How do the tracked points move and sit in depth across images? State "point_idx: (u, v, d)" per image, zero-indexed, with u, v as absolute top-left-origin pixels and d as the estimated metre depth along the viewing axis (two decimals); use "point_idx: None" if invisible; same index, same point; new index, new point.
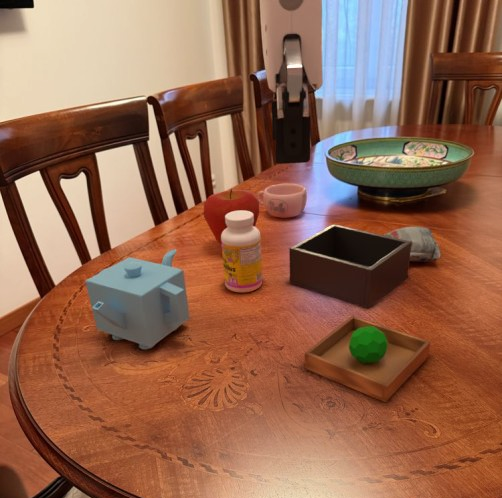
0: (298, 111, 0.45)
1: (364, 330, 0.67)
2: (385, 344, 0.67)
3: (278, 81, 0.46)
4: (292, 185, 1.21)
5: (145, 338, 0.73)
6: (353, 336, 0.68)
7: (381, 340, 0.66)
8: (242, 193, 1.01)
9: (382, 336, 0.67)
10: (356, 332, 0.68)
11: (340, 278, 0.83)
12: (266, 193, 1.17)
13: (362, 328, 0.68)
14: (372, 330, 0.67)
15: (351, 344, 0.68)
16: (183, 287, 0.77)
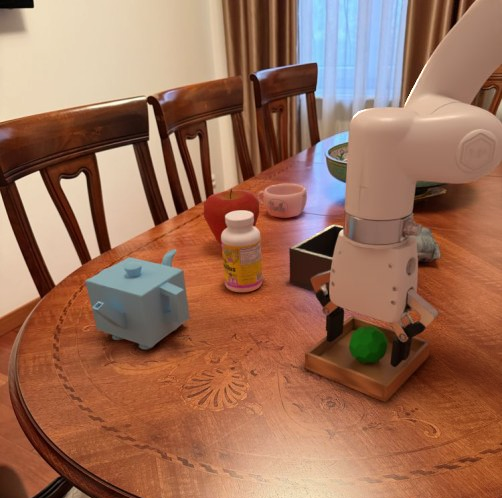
0: None
1: (364, 330, 0.67)
2: (385, 344, 0.67)
3: None
4: (292, 185, 1.21)
5: (145, 338, 0.73)
6: (353, 336, 0.68)
7: (381, 340, 0.66)
8: (242, 193, 1.01)
9: (382, 336, 0.67)
10: (356, 332, 0.68)
11: None
12: (266, 193, 1.17)
13: (362, 328, 0.68)
14: (372, 330, 0.67)
15: (351, 344, 0.68)
16: (183, 287, 0.77)
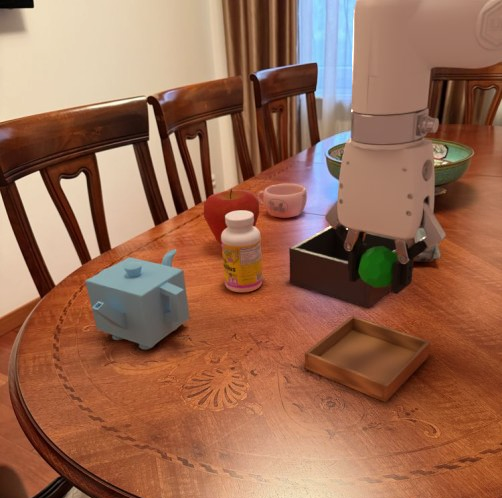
0: None
1: (375, 250, 0.61)
2: None
3: None
4: (292, 185, 1.21)
5: (145, 338, 0.73)
6: (363, 257, 0.62)
7: (393, 259, 0.61)
8: (242, 193, 1.01)
9: (394, 255, 0.61)
10: (365, 253, 0.62)
11: (340, 278, 0.83)
12: (266, 193, 1.17)
13: (372, 248, 0.62)
14: (384, 249, 0.61)
15: (361, 266, 0.62)
16: (183, 287, 0.77)
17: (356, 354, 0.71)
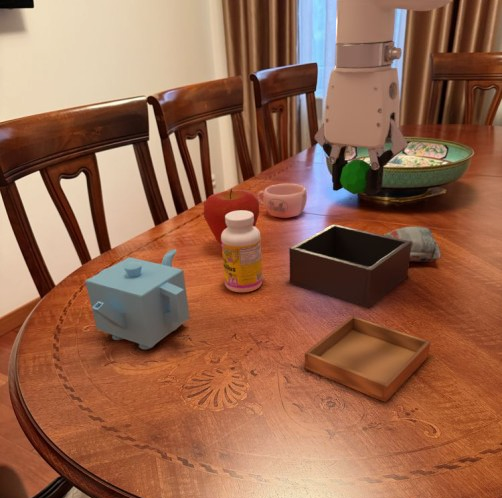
0: (387, 162, 0.75)
1: (353, 161, 0.77)
2: None
3: None
4: (292, 185, 1.21)
5: (145, 338, 0.73)
6: (343, 168, 0.78)
7: (367, 168, 0.76)
8: (242, 193, 1.01)
9: (368, 166, 0.77)
10: (346, 165, 0.78)
11: (340, 278, 0.83)
12: (266, 193, 1.17)
13: (351, 161, 0.78)
14: (360, 161, 0.77)
15: (342, 175, 0.78)
16: (183, 287, 0.77)
17: (356, 354, 0.71)
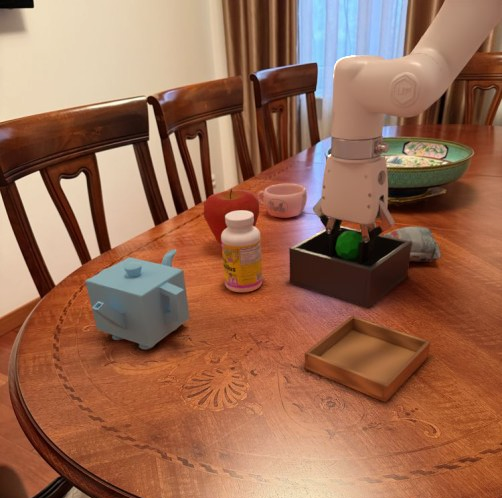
0: (376, 236, 0.84)
1: (347, 233, 0.86)
2: None
3: None
4: (292, 185, 1.21)
5: (145, 338, 0.73)
6: (338, 238, 0.87)
7: (360, 240, 0.86)
8: (242, 193, 1.01)
9: (361, 237, 0.86)
10: (340, 235, 0.87)
11: (340, 278, 0.83)
12: (266, 193, 1.17)
13: (345, 231, 0.87)
14: (353, 232, 0.86)
15: (337, 244, 0.87)
16: (183, 287, 0.77)
17: (356, 354, 0.71)
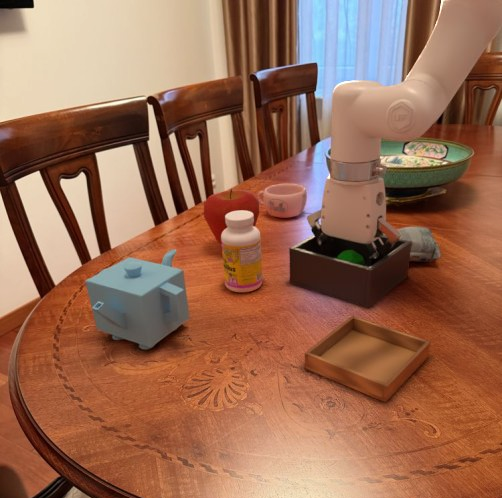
0: (385, 251, 0.84)
1: (346, 252, 0.88)
2: (362, 262, 0.88)
3: None
4: (292, 185, 1.21)
5: (145, 338, 0.73)
6: (338, 257, 0.89)
7: (359, 259, 0.87)
8: (242, 193, 1.01)
9: (360, 256, 0.88)
10: (340, 255, 0.89)
11: (340, 278, 0.83)
12: (266, 193, 1.17)
13: (345, 251, 0.89)
14: (352, 252, 0.88)
15: None
16: (183, 287, 0.77)
17: (356, 354, 0.71)
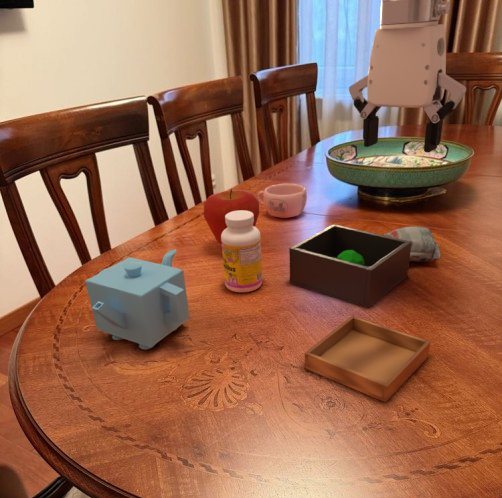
0: (447, 115, 0.72)
1: (346, 252, 0.88)
2: (362, 262, 0.88)
3: None
4: (292, 185, 1.21)
5: (145, 338, 0.73)
6: (338, 257, 0.89)
7: (359, 259, 0.87)
8: (242, 193, 1.01)
9: (360, 256, 0.88)
10: (340, 255, 0.89)
11: (340, 278, 0.83)
12: (266, 193, 1.17)
13: (345, 251, 0.89)
14: (352, 252, 0.88)
15: None
16: (183, 287, 0.77)
17: (356, 354, 0.71)
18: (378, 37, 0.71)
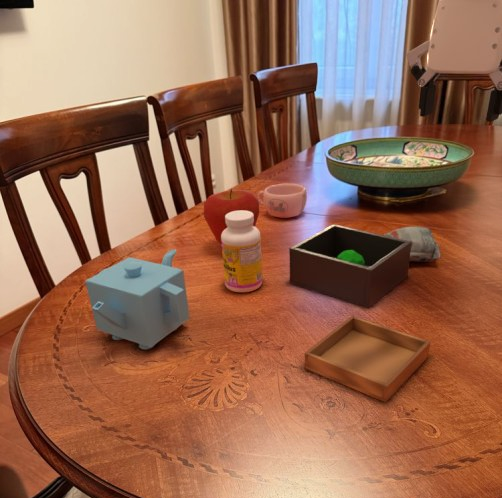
0: None
1: (346, 252, 0.88)
2: (362, 262, 0.88)
3: None
4: (292, 185, 1.21)
5: (145, 338, 0.73)
6: (338, 257, 0.89)
7: (359, 259, 0.87)
8: (242, 193, 1.01)
9: (360, 256, 0.88)
10: (340, 255, 0.89)
11: (340, 278, 0.83)
12: (266, 193, 1.17)
13: (345, 251, 0.89)
14: (352, 252, 0.88)
15: None
16: (183, 287, 0.77)
17: (356, 354, 0.71)
18: None
